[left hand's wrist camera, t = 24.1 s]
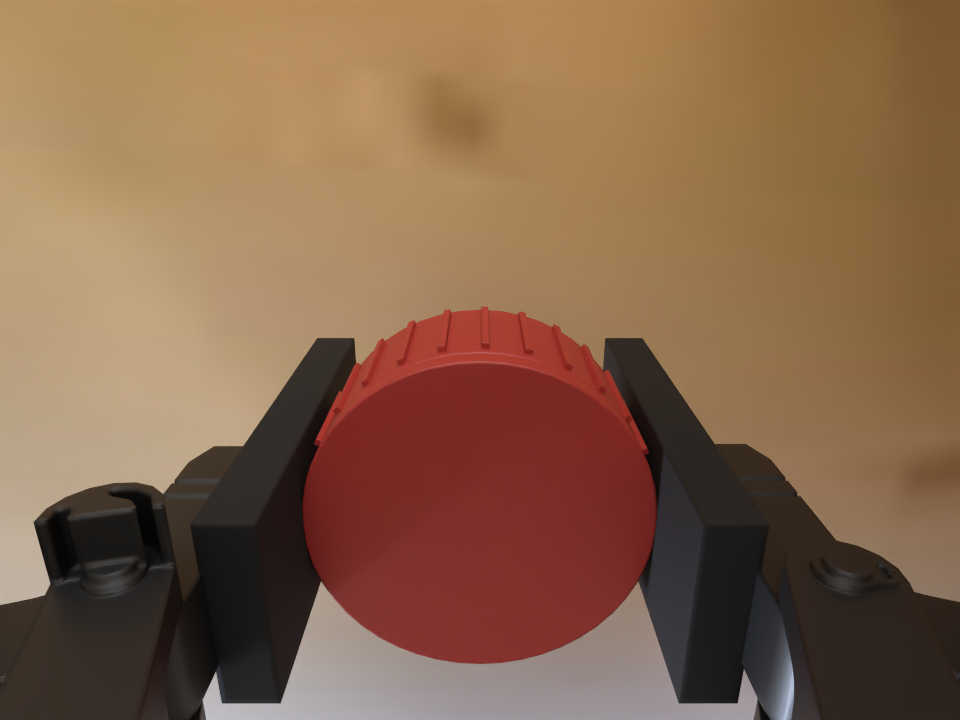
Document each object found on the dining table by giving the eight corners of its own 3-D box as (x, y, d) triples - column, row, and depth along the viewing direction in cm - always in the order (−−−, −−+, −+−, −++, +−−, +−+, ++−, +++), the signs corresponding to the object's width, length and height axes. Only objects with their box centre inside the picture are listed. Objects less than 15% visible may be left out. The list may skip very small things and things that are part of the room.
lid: (383, 595, 13) (363, 697, 11) (286, 348, 11) (239, 409, 9) (651, 536, 13) (688, 630, 11) (596, 268, 11) (626, 312, 9)
